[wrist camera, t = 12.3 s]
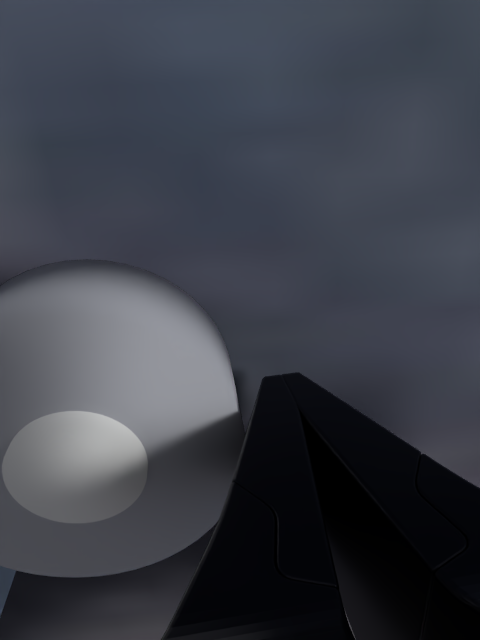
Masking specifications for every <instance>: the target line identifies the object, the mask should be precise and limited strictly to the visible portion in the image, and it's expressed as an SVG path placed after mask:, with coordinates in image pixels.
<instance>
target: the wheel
mask: <svg viewBox="0 0 480 640" xmlns="http://www.w3.org/2000/svg"><path fill="white" fill-rule="evenodd" d="M244 438H245V432H244V427H243V422H242V417H241V412H240V407H239V402H238V397H237V392H236V387H235V383H234V378H233V373H232V368H231V363H230V358H229V353H228V350H227V347H226V345H225V342H224V339H223V337H222V335H221V333H220V331H219V330H218V328H217V326H216V324H215V323H214V321H213V320H212V319H211V317H210V316H209V315H208V313H207V312H206V311H205V310H204V309H203V308H202V307H201V306H200V305H199V304H198V303H197V302H196V301H195V300H194V299H193V298H192V297H191V296H190V295H188V294H187V293H186V292H184V291H183V290H182V289H181V288H179V287H178V286H176V285H174V284H173V283H171V282H169V281H168V280H166V279H164V278H162V277H160V276H158V275H155V274H153V273H151V272H149V271H146V270H144V269H140V268H137V267H134V266H130V265H127V264H122V263H116V262H111V261H103V260H71V261H62V262H57V263H52V264H46V265H43V266H40V267H37V268H34V269H31V270H28V271H25V272H23V273H21V274H19V275H17V276H15V277H13V278H11V279H9V280H8V281H6V282H5V283H3V284H2V285H0V566H2V567H6V568H9V569H12V570H16V571H21V572H26V573H31V574H36V575H44V576H53V577H74V578H78V577H97V576H104V575H112V574H118V573H122V572H127V571H131V570H135V569H139V568H142V567H145V566H148V565H151V564H154V563H156V562H159V561H161V560H163V559H166V558H168V557H170V556H172V555H174V554H176V553H178V552H179V551H181V550H183V549H185V548H186V547H188V546H189V545H191V544H192V543H194V542H195V541H197V540H198V539H199V538H201V537H202V536H203V535H204V534H205V533H206V532H207V531H209V530H210V529H211V528H212V527H213V526H214V525H215V524H216V523H217V521H218V520H219V517H220V514H221V512H222V509H223V506H224V503H225V500H226V497H227V494H228V490H229V487H230V484H231V483H232V478H233V475H234V471H235V468H236V465H237V462H238V458H239V455H240V452H241V448H242V445H243V442H244Z"/></svg>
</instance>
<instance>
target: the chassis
mask: <svg viewBox="0 0 480 640" xmlns="http://www.w3.org/2000/svg"><path fill="white" fill-rule="evenodd" d="M15 573H16V570H12V569H9V568H6V567H2V566H0V616H1V613H2V611H3V608H4V605H5V602H6V599H7V596H8V593H9V590H10V587H11V584H12V581H13V579H14V576H15Z"/></svg>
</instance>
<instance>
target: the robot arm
mask: <svg viewBox="0 0 480 640" xmlns="http://www.w3.org/2000/svg"><path fill="white" fill-rule="evenodd" d="M343 606H344V607H343ZM344 609H345V610H344ZM345 611H346V614H347V617H348V619H349V622H350V625H351V627H352V630H353V633H354V635H355V638H356V640H480V488H479V487H477V486H475V485H473V484H472V483H470V482H468V481H466V480H465V479H463V478H462V477H460V476H458V475H457V474H455V473H453V472H452V471H450V470H449V469H447V468H445V467H444V466H442V465H441V464H439V463H438V462H436V461H434V460H433V459H431V458H430V457H428V456H427V455H425V454H422V455H421V452H420V451H419V450H417V449H416V448H414V447H413V446H411V445H410V444H408V443H407V442H405V441H403V440H402V439H400V438H399V437H397V436H396V435H394V434H393V433H391V432H390V431H388V430H387V429H385V428H384V427H382V426H380V425H379V424H377V423H376V422H374V421H373V420H371V419H370V418H368V417H367V416H365V415H364V414H362V413H361V412H359V411H357V410H356V409H354V408H353V407H351V406H350V405H348V404H347V403H345V402H344V401H342V400H341V399H339V398H338V397H336V396H334V395H333V394H331V393H330V392H328V391H327V390H325V389H324V388H322V387H321V386H319V385H318V384H316V383H314V382H313V381H311V380H310V379H308V378H307V377H305V376H304V375H302V374H301V373H297V372H296V373H289V374H282V375H274V376H267V377H264V378H263V379H262V382H261V385H260V389H259V392H258V395H257V399H256V402H255V405H254V409H253V412H252V415H251V418H250V422H249V425H248V428H247V432H246V435H245V438H244V442H243V445H242V448H241V452H240V455H239V458H238V462H237V465H236V468H235V471H234V475H233V478H232V483H231V484H230V487H229V490H228V494H227V497H226V500H225V503H224V506H223V509H222V512H221V514H220V517H219V520H218V523H217V525H216V528H215V530H214V532H213V534H212V537H211V539H210V541H209V543H208V546H207V548H206V550H205V552H204V554H203V556H202V558H201V561H200V563H199V565H198V567H197V569H196V571H195V573H194V575H193V577H192V579H191V581H190V583H189V585H188V587H187V589H186V592H185V594H184V596H183V598H182V600H181V602H180V604H179V606H178V608H177V610H176V612H175V614H174V616H173V618H172V620H171V622H170V624H169V626H168V628H167V630H166V632H165V634H164V635H163V637H162V639H161V640H355V638H354V636H353V634H352V631H351V629H350V627H349V624H348V621H347V617H346V614H345Z"/></svg>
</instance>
